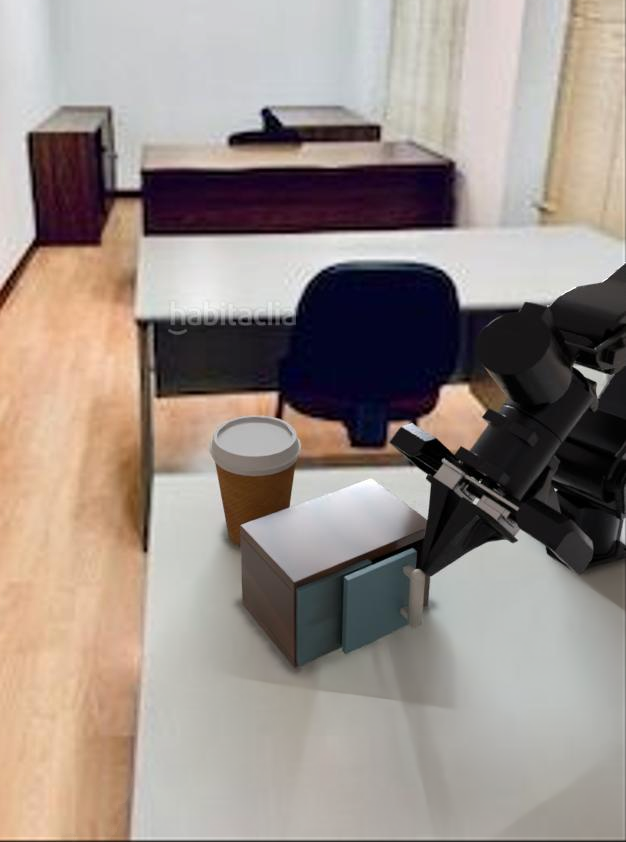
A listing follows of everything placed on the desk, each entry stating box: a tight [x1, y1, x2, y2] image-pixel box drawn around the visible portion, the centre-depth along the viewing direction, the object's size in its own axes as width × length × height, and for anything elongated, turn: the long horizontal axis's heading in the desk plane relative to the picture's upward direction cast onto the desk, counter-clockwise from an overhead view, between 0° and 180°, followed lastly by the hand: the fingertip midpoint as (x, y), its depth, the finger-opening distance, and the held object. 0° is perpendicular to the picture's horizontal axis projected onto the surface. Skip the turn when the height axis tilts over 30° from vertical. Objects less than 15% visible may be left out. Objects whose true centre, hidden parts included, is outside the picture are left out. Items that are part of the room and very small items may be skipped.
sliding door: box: [341, 548, 425, 655], centre depth 65 cm, size 7×3×8 cm, turn 119°
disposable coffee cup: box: [208, 414, 302, 548], centre depth 80 cm, size 10×10×12 cm
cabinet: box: [240, 478, 431, 669], centre depth 70 cm, size 15×10×9 cm, turn 119°
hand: (424, 572), depth 64 cm, fingers closed, pressing on sliding door
